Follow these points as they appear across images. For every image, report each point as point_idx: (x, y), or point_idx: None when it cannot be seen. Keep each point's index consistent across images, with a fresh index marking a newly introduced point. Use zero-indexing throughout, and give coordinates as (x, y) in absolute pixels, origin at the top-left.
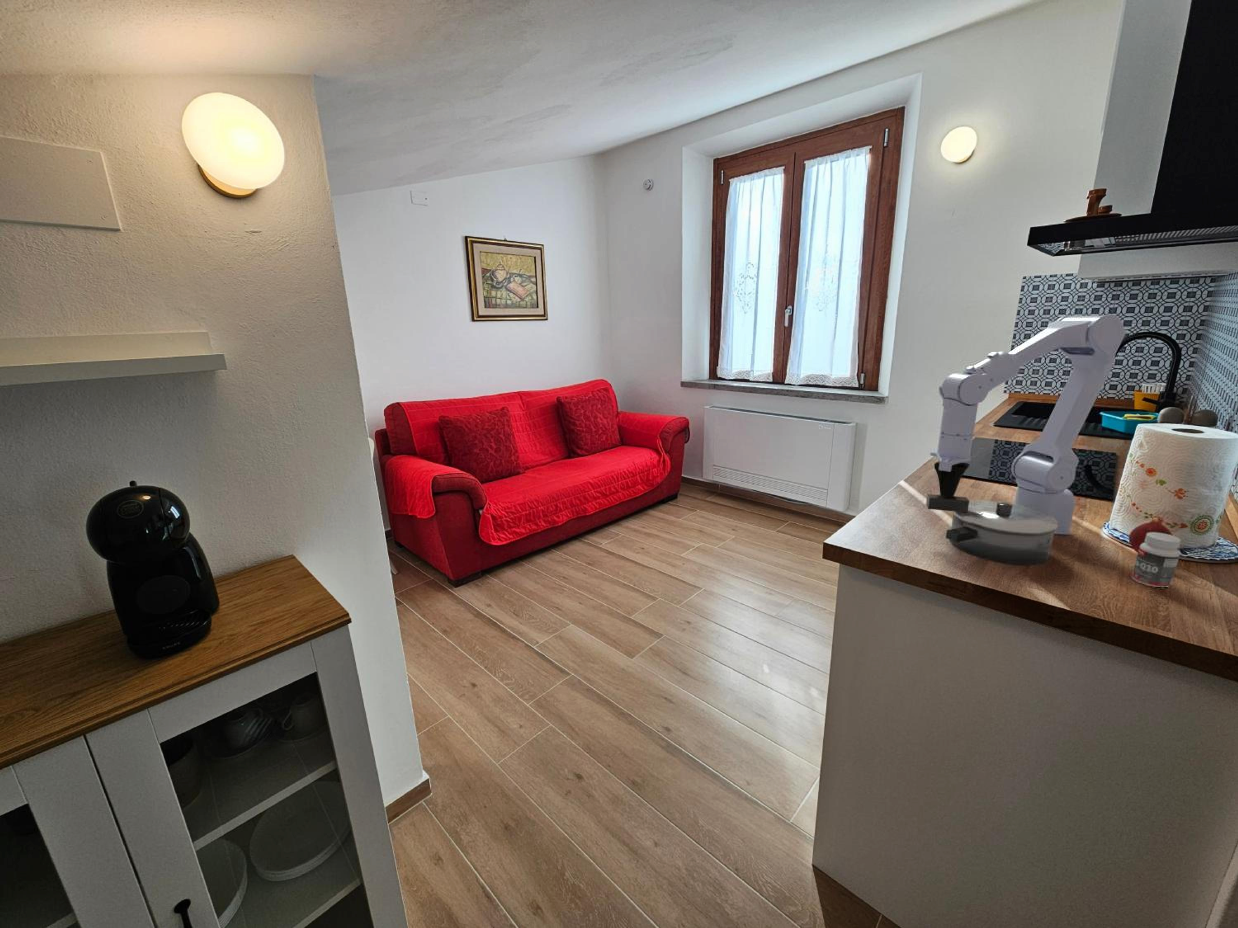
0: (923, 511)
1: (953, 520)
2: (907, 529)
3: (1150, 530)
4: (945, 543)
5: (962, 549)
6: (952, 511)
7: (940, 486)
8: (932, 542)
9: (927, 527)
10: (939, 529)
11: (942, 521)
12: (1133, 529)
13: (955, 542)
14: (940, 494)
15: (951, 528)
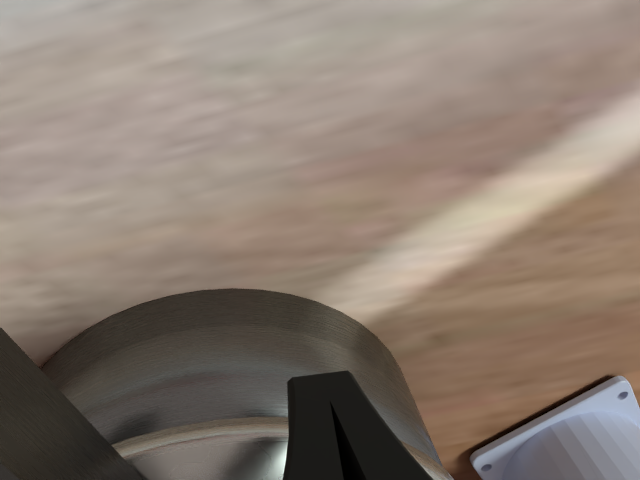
0: (610, 41)
1: (113, 409)
2: (141, 58)
3: None
4: (75, 300)
5: None
6: (122, 445)
7: (289, 460)
8: (26, 249)
9: (285, 153)
10: (296, 215)
11: (457, 189)
12: None
13: (63, 360)
14: (292, 388)
15: (149, 349)
